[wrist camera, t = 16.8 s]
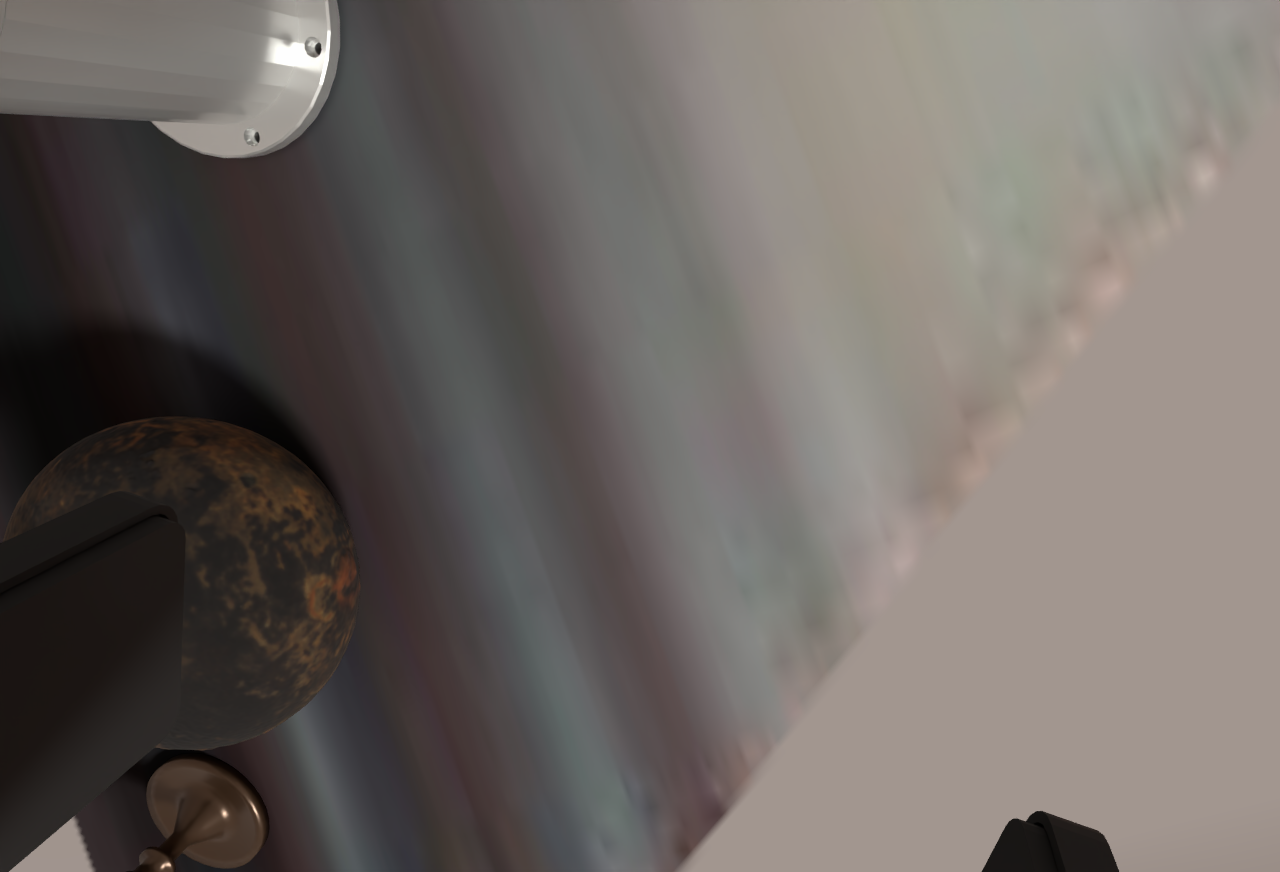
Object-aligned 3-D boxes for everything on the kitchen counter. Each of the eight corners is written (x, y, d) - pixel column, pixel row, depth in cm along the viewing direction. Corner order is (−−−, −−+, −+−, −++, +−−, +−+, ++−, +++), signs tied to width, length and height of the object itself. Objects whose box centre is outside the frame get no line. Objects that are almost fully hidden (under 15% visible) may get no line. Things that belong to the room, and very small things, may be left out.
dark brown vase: (105, 554, 53) (-601, 935, 27) (190, 324, 46) (-649, 540, 20) (335, 710, 53) (-153, 1247, 27) (455, 503, 46) (-47, 956, 20)
